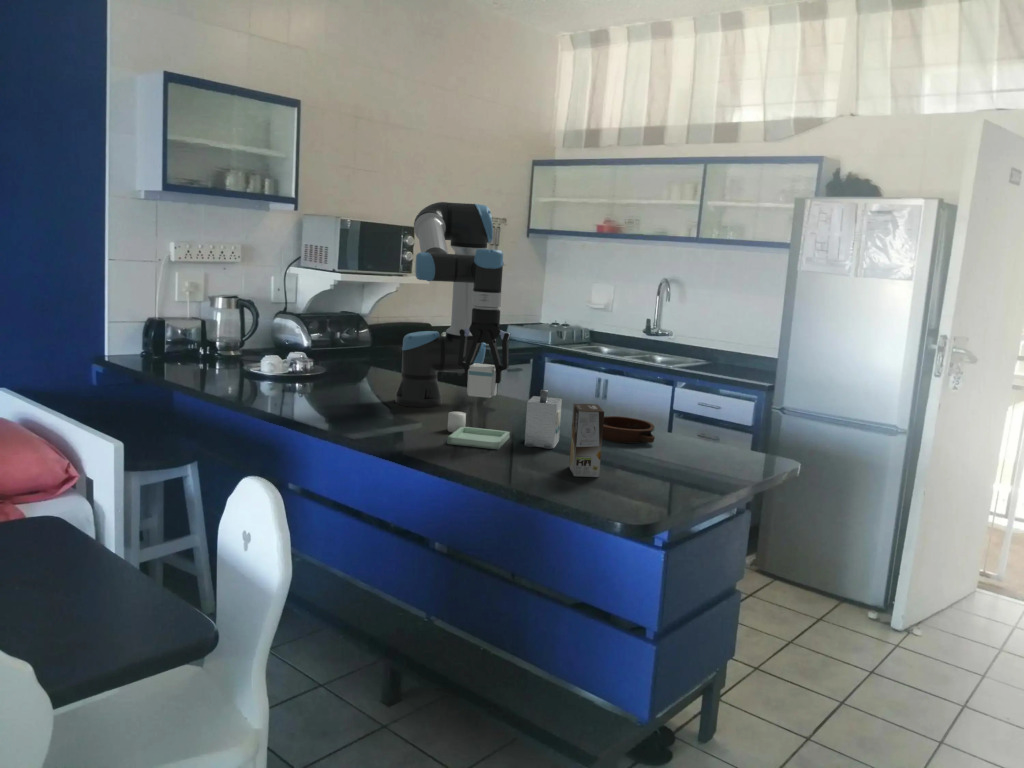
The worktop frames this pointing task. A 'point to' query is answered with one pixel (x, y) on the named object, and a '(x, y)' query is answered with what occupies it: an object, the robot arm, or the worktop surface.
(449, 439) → the tray
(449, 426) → the cream knob
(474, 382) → the block
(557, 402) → the box
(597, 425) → the coffee box
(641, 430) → the dish
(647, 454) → the worktop surface
